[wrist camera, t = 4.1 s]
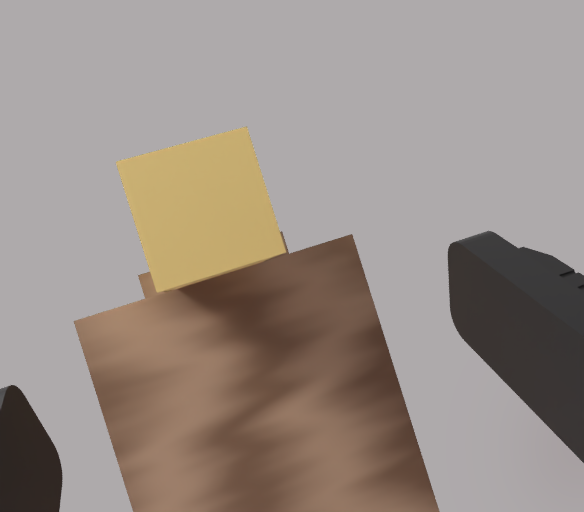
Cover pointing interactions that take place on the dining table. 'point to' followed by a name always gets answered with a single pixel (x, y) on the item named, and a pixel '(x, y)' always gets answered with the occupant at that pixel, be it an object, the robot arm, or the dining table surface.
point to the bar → (201, 209)
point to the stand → (258, 392)
